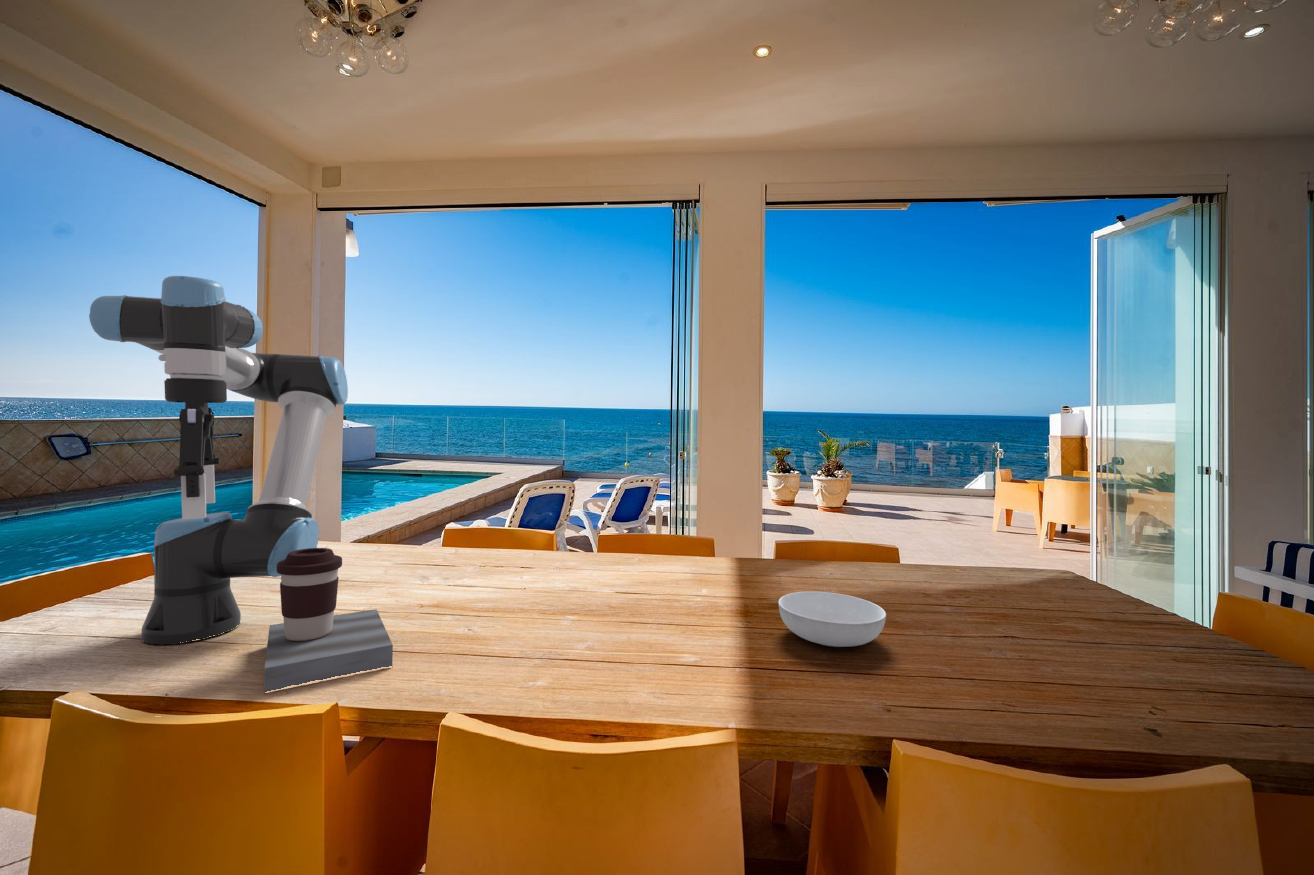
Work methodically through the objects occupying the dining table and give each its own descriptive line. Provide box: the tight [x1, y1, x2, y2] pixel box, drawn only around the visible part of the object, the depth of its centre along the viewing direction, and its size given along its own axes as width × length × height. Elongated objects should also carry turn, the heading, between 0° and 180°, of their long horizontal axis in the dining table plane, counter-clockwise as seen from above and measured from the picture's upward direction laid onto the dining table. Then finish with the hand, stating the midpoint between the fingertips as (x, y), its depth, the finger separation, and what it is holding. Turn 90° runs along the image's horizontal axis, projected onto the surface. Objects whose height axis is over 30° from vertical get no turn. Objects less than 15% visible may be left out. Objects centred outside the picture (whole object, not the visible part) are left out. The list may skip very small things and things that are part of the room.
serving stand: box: [263, 608, 394, 693], centre depth 98 cm, size 22×18×4 cm
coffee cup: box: [277, 547, 343, 641], centre depth 98 cm, size 10×10×15 cm
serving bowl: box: [777, 590, 887, 648], centre depth 111 cm, size 21×21×7 cm
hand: (199, 510), depth 87 cm, fingers open, 13 cm apart
